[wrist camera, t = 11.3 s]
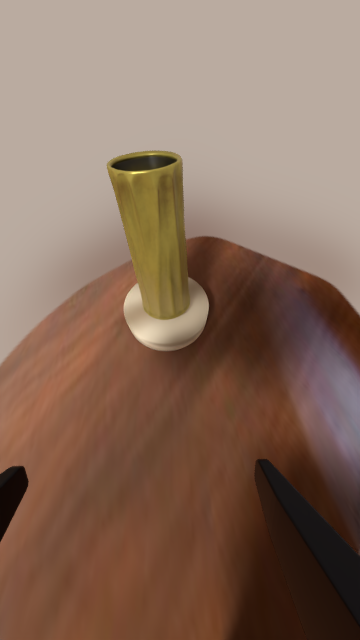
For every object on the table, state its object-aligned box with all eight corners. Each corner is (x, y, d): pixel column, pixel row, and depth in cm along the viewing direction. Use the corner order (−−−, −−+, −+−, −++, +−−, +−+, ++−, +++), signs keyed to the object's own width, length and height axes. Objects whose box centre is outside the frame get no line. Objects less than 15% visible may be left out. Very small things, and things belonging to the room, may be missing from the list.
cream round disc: (221, 328, 26) (225, 317, 24) (148, 367, 24) (144, 359, 21) (182, 276, 31) (182, 262, 28) (118, 304, 28) (111, 291, 26)
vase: (172, 329, 22) (150, 179, 10) (132, 308, 24) (80, 167, 13) (199, 296, 25) (205, 152, 13) (161, 280, 27) (139, 146, 16)
